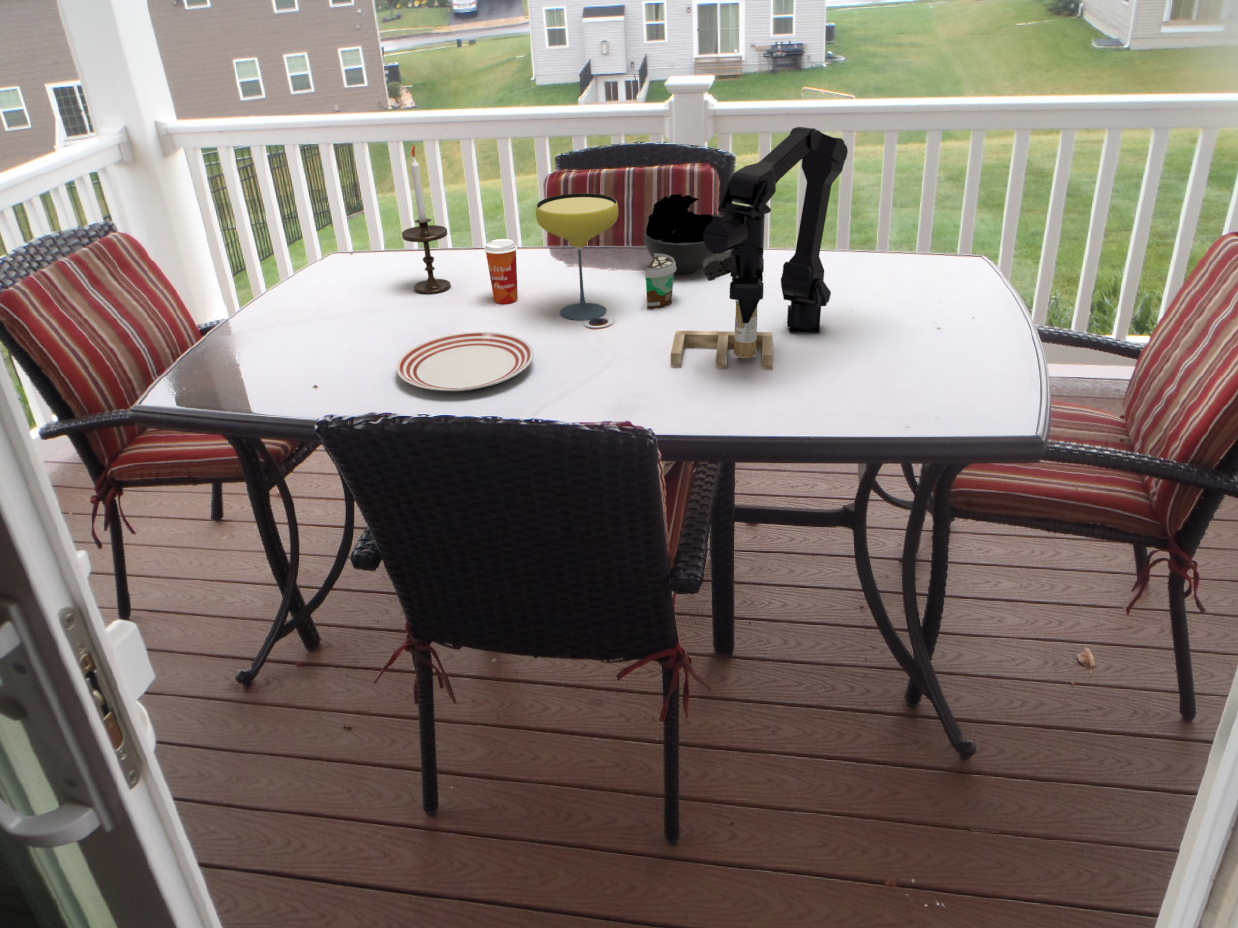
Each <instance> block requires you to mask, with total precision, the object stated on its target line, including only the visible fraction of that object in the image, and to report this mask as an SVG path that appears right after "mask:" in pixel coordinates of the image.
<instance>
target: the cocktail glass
mask: <svg viewBox="0 0 1238 928" xmlns="http://www.w3.org/2000/svg"><path fill="white" fill-rule="evenodd" d="M535 217H536V222H537V224H538V225H539V226H540V227H541V228H542V229H543V230H544V231H546V232H547V233H550V234H552V235H554V236H556V237H558V238H561V239H564V240H566V241H568V242H569V243H570V244H571V246H573V248H574V249H576V250H577V252H578V254H577V255H578V270H579V273H578V274H579V302H578V303H577V302H575V303H571V304H568V305H566V306H563V307H562V308H561V309H560V310H559V315H560V317H562V318H564V319H567V320H571V321H589V320H594V319H598V318H600V317H603V316H604V315H606V313H607V308H606V307H605V306H604V305H603V304H600V303H595V302H586V298H585V294H584V293H585V291H584V280H583V279H584V278H583V277H584V276H583V265H582V250H583V249H584V248H585V246H587V244H588V243H589V241H590V240H591V239H593V238H594V237H596V236H598V235H601V234H602V233H605V232H606V231H607V230H609V229H610V228H611V227H613V225H614V224H615V223H616V222H617V220H618V219H619V205H618V201H617V199H616V198H614V197H612V196H610V195H607V194H600V193H590V192H589V193H582V192H581V193H580V192H578V193H566V194H559V195H554V196H550V197H547V198H543V199H542V200H539V201H538V202H537V204H536V205H535Z"/></svg>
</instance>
